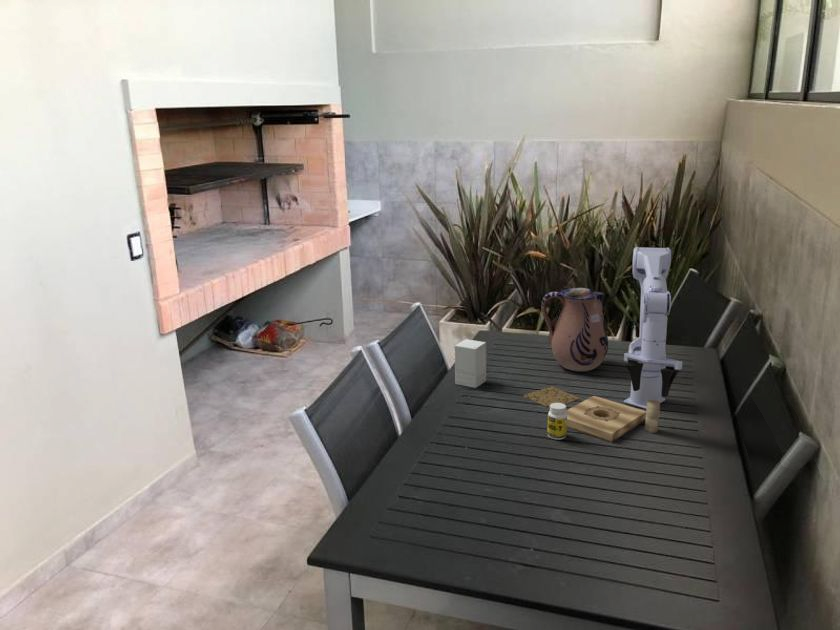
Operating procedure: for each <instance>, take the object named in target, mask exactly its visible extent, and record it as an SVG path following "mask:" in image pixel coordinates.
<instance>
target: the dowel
mask: <svg viewBox="0 0 840 630" xmlns="http://www.w3.org/2000/svg"><path fill="white" fill-rule="evenodd" d="M660 410H661V403H660V401H658V400H655V399H649V400H647V408H646V410H645V411H646V420H645V421H644V431H645V432H646V433H648V434H657V433H658V432H659V420H660Z"/></svg>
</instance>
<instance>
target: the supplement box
mask: <svg viewBox="0 0 840 630" xmlns="http://www.w3.org/2000/svg"><path fill="white" fill-rule="evenodd" d="M454 376H455V377H454V383H455V385H457V386H463V387H468V388H472V389H473V388H474V389H476V388H478V387H480V386H481V385H482V384H484V383H485V382H486V381H487V342H486V341H479V340H475V339H474V340H473V339H468V338H465V339H463V340H461V341H460V342H458V343H457V344H455V345H454Z"/></svg>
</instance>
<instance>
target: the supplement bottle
mask: <svg viewBox="0 0 840 630" xmlns="http://www.w3.org/2000/svg"><path fill="white" fill-rule="evenodd" d="M566 410H567V404H566V405H564V404H562V403H552V404H551V405H550V408H549V411H548V413H547V428H546V429H547V430H546V431H547V432H546V435H547V438H550V439H552V440H556V441H559V440H563V439H565V438H566V437H567V430H568V428H567V413H566Z"/></svg>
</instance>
